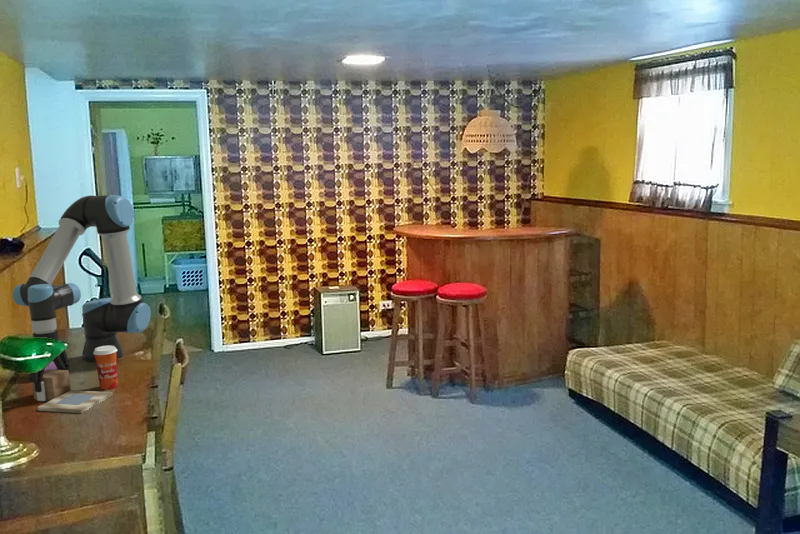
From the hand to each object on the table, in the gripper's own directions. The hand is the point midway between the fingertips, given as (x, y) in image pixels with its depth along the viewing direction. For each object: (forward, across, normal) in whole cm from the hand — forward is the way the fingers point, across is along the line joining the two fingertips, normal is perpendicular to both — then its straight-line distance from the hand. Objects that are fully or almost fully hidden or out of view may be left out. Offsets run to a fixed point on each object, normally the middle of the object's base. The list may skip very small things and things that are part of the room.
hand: (52, 395), depth 245 cm
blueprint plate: (0, +5, +13) cm, 14 cm away
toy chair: (0, -19, -17) cm, 25 cm away
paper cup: (0, -11, +14) cm, 18 cm away
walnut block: (0, 0, 0) cm, 0 cm away
